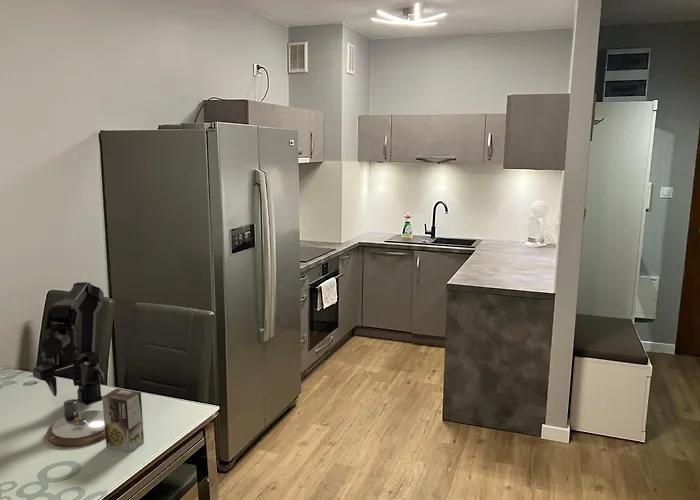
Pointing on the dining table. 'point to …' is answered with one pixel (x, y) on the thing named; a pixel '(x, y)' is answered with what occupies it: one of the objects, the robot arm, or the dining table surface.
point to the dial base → (75, 442)
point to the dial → (78, 422)
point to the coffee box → (123, 419)
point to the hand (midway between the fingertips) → (69, 390)
